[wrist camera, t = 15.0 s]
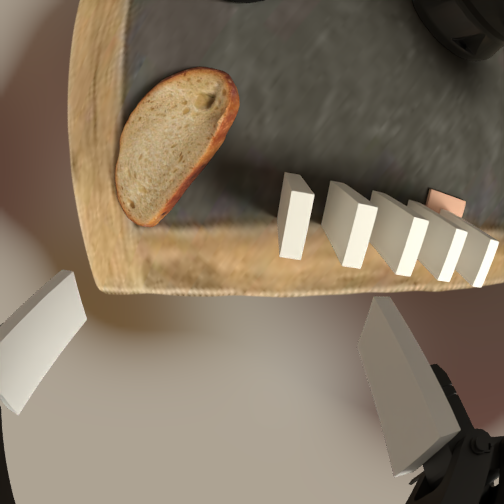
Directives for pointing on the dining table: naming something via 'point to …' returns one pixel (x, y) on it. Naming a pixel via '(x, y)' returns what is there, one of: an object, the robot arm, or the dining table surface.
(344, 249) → the domino
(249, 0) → the coffee jar
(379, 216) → the domino
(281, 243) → the domino
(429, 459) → the robot arm
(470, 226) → the domino
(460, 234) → the domino
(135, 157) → the slice of bread
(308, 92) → the dining table surface
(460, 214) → the mat
